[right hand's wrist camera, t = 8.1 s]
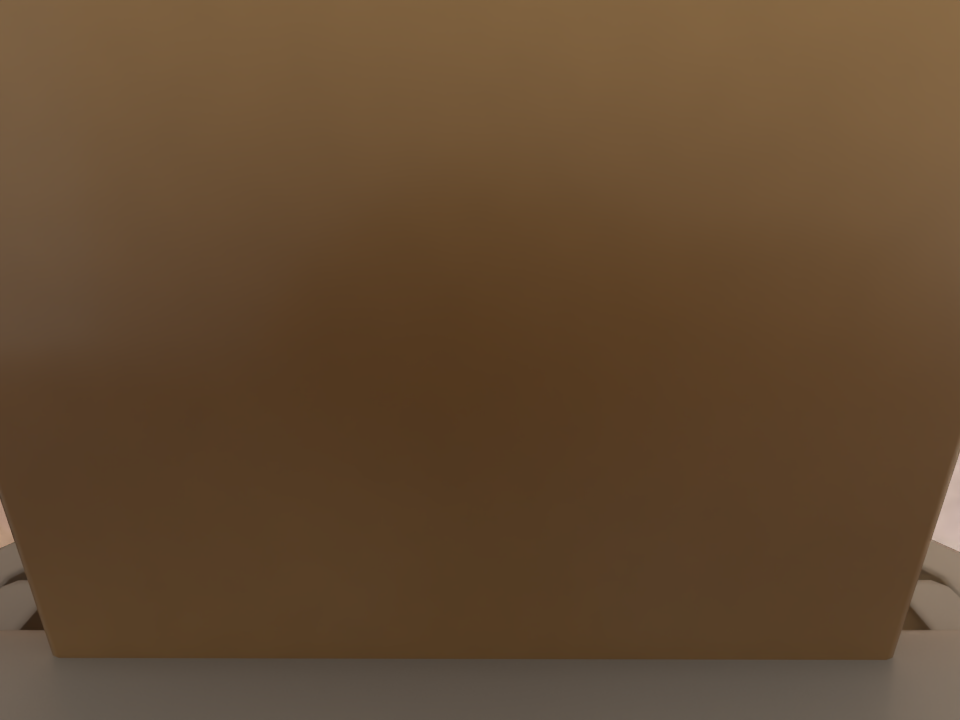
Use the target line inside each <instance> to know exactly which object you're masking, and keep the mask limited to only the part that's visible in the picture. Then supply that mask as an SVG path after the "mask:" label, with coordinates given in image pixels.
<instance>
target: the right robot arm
mask: <svg viewBox="0 0 960 720" xmlns="http://www.w3.org/2000/svg"><path fill="white" fill-rule="evenodd" d="M0 720H960V552H958V551H956V550H954V549H952V548H949V547H947V546H945V545H943V544H940V543H938V542H936V541H934V540H931V542H930V545H929V548H928V551H927V554H926V557H925V560H924V563H923V566H922V569H921V572H920V575H919V578H918V581H917V584H916V588H915V591H914V594H913V597H912V600H911V603H910V606H909V609H908V612H907V615H906V618H905V621H904V624H903V627H902V630H901V634H900V637H899V640H898V643H897V646H896V649H895V652H894V655H893V658H890V659H887V660H686V659H279V658H58V657H56V656H53V654H52V651H51V648H50V645H49V642H48V639H47V636H46V633H45V631H44V628H43V625H42V622H41V619H40V616H39V613H38V610H37V607H36V604H35V601H34V598H33V595H32V592H31V589H30V586H29V583H28V580H27V577H26V574H25V571H24V568H23V565H22V562H21V559H20V556H19V553H18V550H17V547H16V544H15V542H13V543H11V544H9V545H7V546H4V547H2V548H0Z"/></svg>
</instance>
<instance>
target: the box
mask: <svg viewBox="0 0 960 720" xmlns="http://www.w3.org/2000/svg"><path fill="white" fill-rule="evenodd" d="M959 453H960V0H0V499H1V502H2V505H3V508H4V511H5V514H6V517H7V520H8V523H9V526H10V529H11V532H12V535H13V538H14V541H15V544H16V547H17V550H18V553H19V556H20V559H21V562H22V565H23V568H24V571H25V574H26V577H27V580H28V583H29V586H30V589H31V592H32V595H33V598H34V601H35V604H36V607H37V610H38V613H39V616H40V619H41V622H42V625H43V628H44V631H45V633H46V636H47V639H48V642H49V645H50V648H51V651H52V654H53V656H56V657H58V658H279V659H686V660H887V659H890V658H893V655H894V652H895V649H896V646H897V643H898V640H899V637H900V634H901V630H902V627H903V624H904V621H905V618H906V615H907V612H908V609H909V606H910V603H911V600H912V597H913V594H914V591H915V588H916V584H917V581H918V578H919V575H920V572H921V569H922V566H923V563H924V560H925V557H926V554H927V551H928V548H929V545H930V542H931V539H932V535H933V532H934V529H935V526H936V523H937V520H938V517H939V514H940V511H941V508H942V505H943V502H944V499H945V496H946V493H947V489H948V486H949V483H950V480H951V477H952V474H953V471H954V468H955V465H956V462H957V459H958V456H959Z"/></svg>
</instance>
